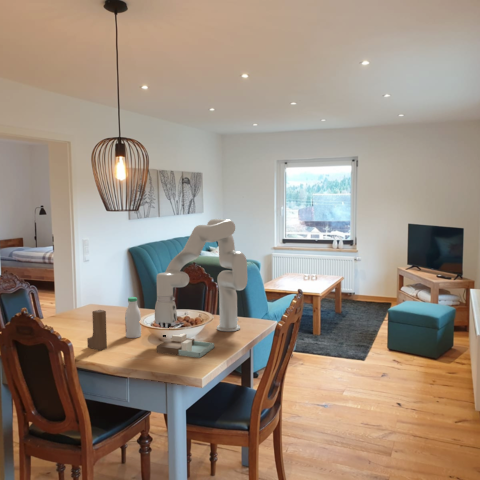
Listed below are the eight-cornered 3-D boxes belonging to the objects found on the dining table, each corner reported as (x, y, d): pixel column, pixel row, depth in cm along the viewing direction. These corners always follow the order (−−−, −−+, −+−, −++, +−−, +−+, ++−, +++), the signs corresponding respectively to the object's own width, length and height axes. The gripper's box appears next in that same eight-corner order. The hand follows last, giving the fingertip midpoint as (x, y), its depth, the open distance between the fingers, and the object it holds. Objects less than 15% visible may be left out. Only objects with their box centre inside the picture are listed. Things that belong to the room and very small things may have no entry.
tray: (194, 345, 218) (194, 340, 218) (214, 347, 214) (214, 343, 214) (178, 355, 204) (178, 350, 204) (199, 357, 200) (199, 353, 200)
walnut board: (174, 342, 223) (174, 336, 222) (194, 345, 219) (194, 338, 218) (156, 352, 208) (156, 346, 208) (178, 355, 204) (177, 348, 204)
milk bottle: (144, 335, 235) (143, 297, 234) (133, 339, 228) (132, 299, 227) (133, 333, 239) (132, 295, 237) (122, 337, 232) (121, 298, 231)
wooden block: (87, 347, 216) (86, 309, 215) (95, 345, 220) (94, 308, 218) (99, 350, 211) (98, 312, 209) (107, 348, 214) (106, 310, 213)
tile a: (177, 337, 220) (177, 332, 220) (186, 338, 218) (186, 333, 218) (172, 340, 216) (171, 335, 215) (181, 341, 214) (181, 336, 213)
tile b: (187, 339, 209) (191, 340, 208) (187, 350, 209) (192, 351, 208) (181, 342, 204) (186, 343, 203) (181, 353, 204) (186, 354, 203)
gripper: (182, 298, 219) (183, 336, 220) (155, 296, 224) (156, 332, 226) (174, 301, 212) (175, 340, 213) (147, 299, 217) (148, 337, 219)
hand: (165, 336), depth 220 cm, fingers closed
